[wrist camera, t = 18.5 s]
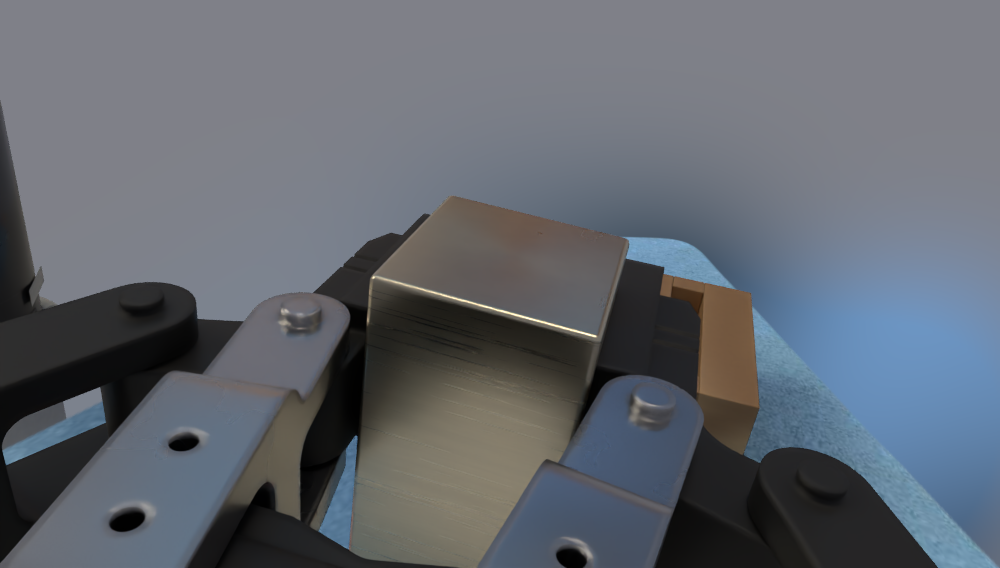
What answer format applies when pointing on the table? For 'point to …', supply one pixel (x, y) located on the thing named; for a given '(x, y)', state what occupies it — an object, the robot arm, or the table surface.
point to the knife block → (723, 358)
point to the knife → (473, 375)
